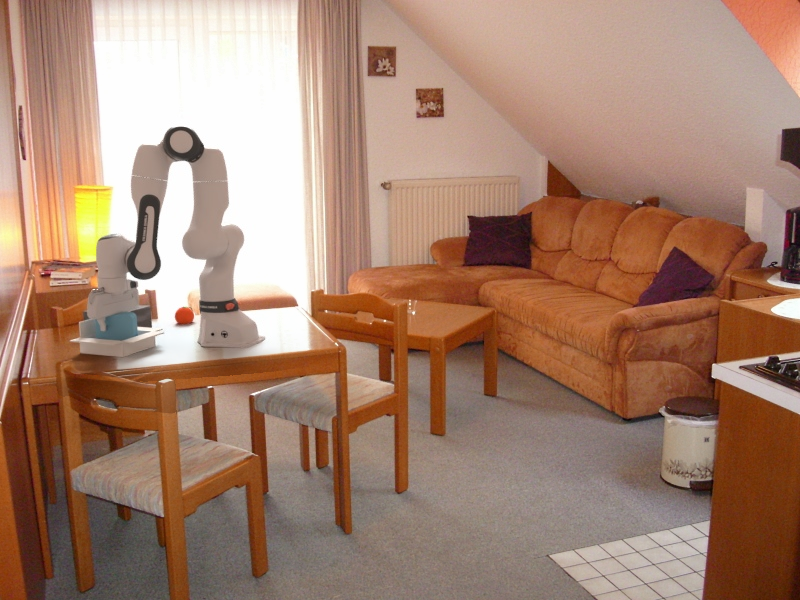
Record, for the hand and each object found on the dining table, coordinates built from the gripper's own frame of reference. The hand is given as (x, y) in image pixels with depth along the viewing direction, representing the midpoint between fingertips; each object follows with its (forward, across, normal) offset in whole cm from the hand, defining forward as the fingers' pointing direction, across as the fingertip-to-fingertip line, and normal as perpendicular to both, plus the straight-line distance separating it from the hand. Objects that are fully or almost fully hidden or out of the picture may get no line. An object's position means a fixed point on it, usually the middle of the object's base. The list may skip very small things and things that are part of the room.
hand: (114, 327), depth 255 cm
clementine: (+8, +40, +2) cm, 41 cm away
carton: (+7, 0, -1) cm, 7 cm away
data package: (+8, 0, -1) cm, 8 cm away
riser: (+8, +20, +16) cm, 27 cm away
